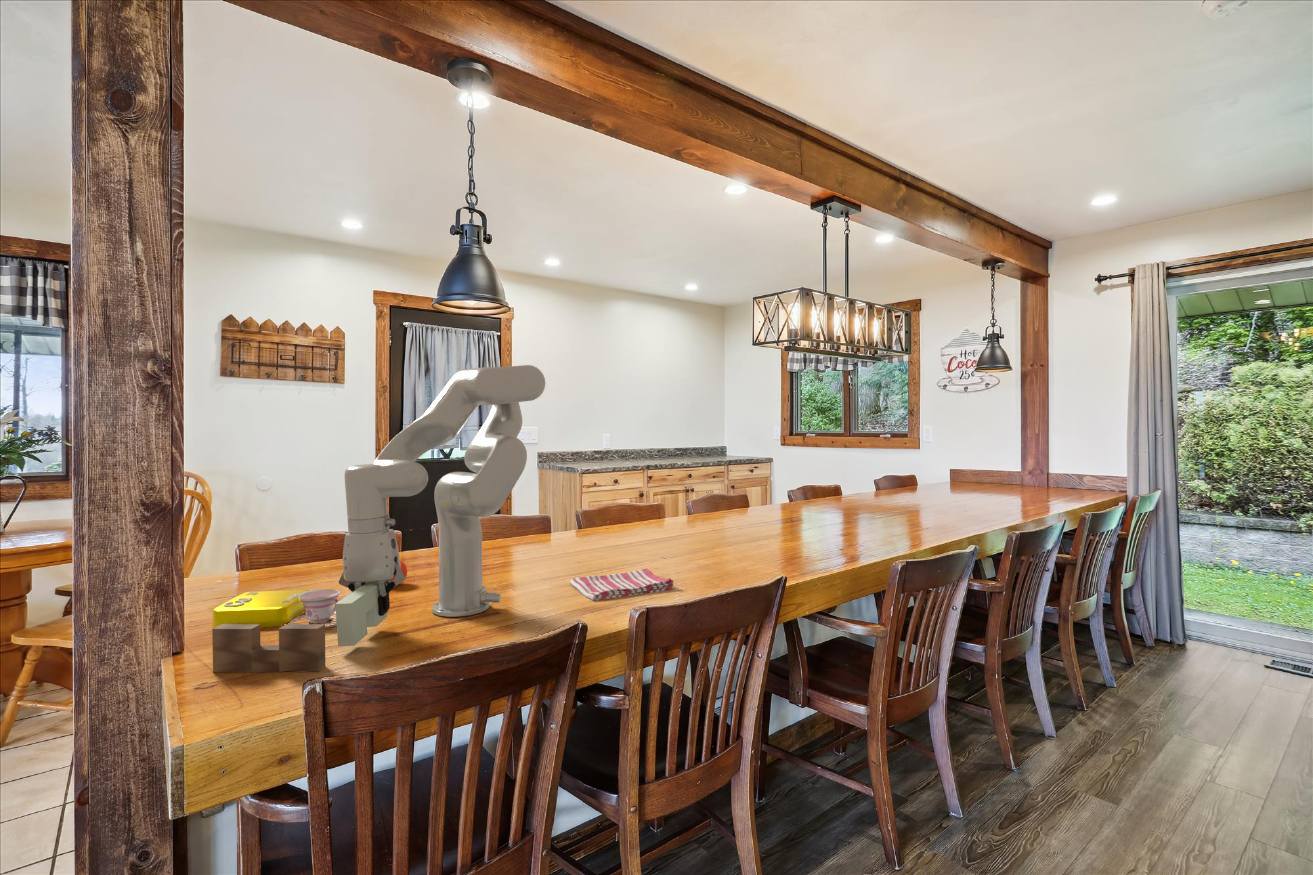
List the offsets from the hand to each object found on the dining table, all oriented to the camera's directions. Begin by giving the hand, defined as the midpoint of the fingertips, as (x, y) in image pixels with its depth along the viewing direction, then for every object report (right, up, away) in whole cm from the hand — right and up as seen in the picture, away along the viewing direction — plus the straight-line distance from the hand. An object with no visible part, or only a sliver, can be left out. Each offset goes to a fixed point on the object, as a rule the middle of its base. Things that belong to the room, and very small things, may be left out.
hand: (374, 613), depth 130 cm
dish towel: (+49, -4, +36) cm, 60 cm away
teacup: (-15, -4, +7) cm, 17 cm away
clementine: (-12, -3, +37) cm, 39 cm away
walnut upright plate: (-10, -4, -19) cm, 22 cm away
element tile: (-29, -4, +10) cm, 31 cm away
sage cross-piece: (0, -2, -5) cm, 5 cm away
